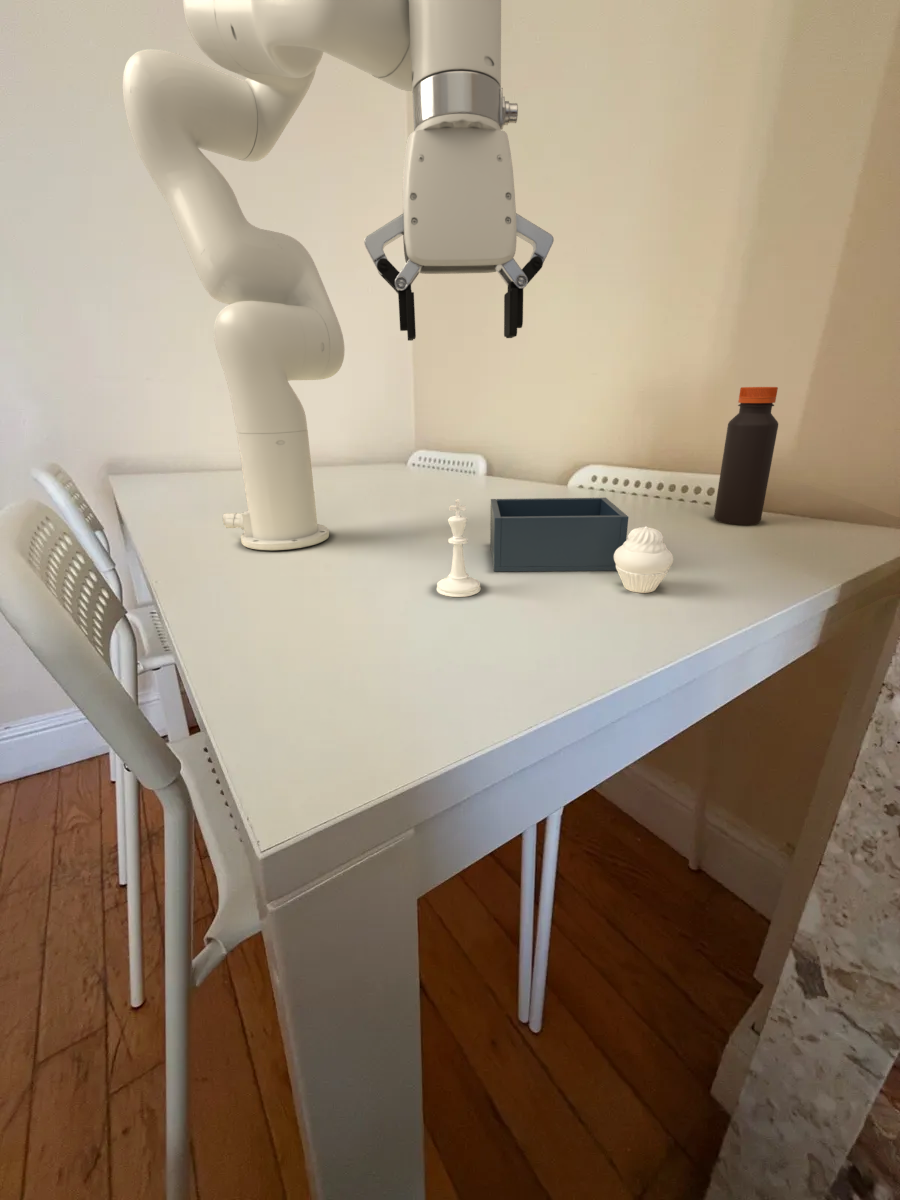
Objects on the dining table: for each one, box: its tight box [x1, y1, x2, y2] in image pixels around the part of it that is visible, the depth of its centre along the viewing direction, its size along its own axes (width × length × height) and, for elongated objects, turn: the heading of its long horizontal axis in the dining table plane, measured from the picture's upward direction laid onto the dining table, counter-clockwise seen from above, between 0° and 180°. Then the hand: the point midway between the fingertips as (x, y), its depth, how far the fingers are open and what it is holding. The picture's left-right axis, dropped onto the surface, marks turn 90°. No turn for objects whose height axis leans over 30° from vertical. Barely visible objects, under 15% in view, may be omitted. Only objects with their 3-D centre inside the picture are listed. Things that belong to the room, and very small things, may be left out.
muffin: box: [614, 525, 674, 594], centre depth 61 cm, size 6×6×7 cm
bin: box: [489, 497, 630, 572], centre depth 73 cm, size 16×12×7 cm
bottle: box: [713, 386, 779, 526], centre depth 87 cm, size 7×7×20 cm
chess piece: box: [436, 499, 482, 598], centre depth 62 cm, size 5×5×10 cm
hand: (461, 338), depth 55 cm, fingers open, 9 cm apart
